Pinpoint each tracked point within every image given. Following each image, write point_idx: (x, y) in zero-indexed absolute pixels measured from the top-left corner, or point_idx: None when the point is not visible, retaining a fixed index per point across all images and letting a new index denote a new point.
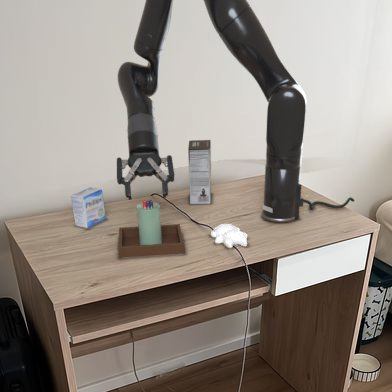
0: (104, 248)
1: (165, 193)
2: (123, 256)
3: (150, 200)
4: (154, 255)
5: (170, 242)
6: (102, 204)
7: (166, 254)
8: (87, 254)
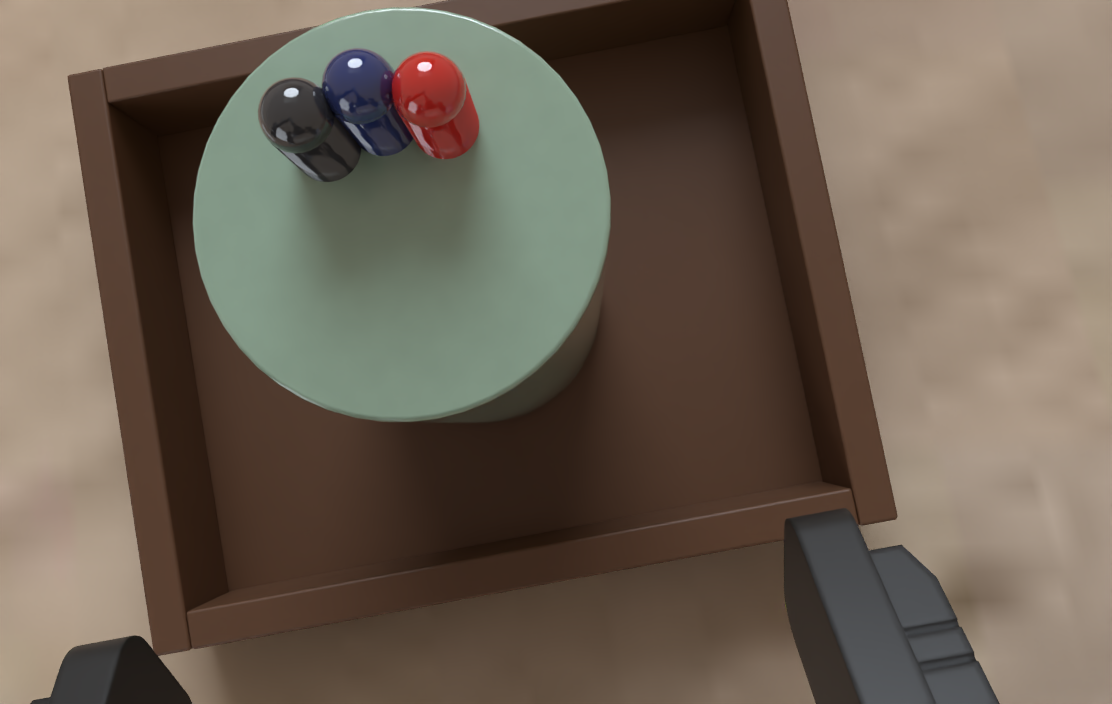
0: (967, 228)
1: (72, 655)
2: None
3: (300, 91)
4: None
5: None
6: None
7: None
8: (1107, 78)
